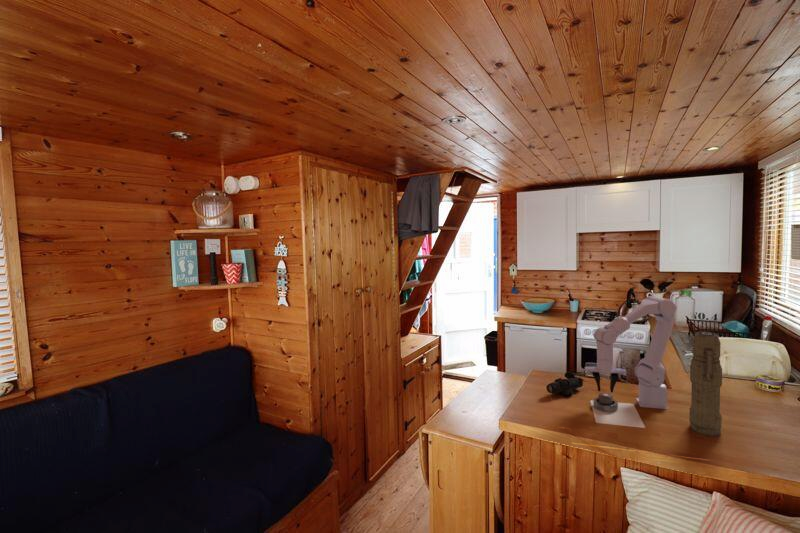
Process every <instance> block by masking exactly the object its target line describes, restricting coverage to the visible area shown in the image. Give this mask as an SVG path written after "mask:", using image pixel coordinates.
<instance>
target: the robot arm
mask: <svg viewBox="0 0 800 533" xmlns="http://www.w3.org/2000/svg"><path fill="white" fill-rule="evenodd" d="M677 308H678V307H677V305H676V304H675V302H674V301H673V300H672V299H669V298H662V297H659V296H655V295H649V296H648V295H647V297H645V298H644V299H642V300H641V303H640V304H638V306H636V307H635V308H633V309H632V310H630V312H628V313H627V314H625V316H616V317H614V319H613V320H612V321H611V322H608V323H607V324H605V325H604V327H602V326H600V327H598V328H596V330H595V331H594V333H593V334H592V335H593V338H594V340H595V341H596V342H595V343H596V366H584V373H585V374H589V373H591V374H592V376H593V378H594V380H595V382H596V385H597V386H596V387H597V391H598V392H601V376H600V374H605V375H606V374H607V375H609V378H610V383H609V385H610V386H609V391H610V393H613V392H614V388H615V385H616V384H617V382H618V380H619V377H620V375H622V376H627V370H626V369H625V368H619V367H614V344H615V343H616V341H617V339H618V338H619V336H621V335H622V334H623V333H625V332H626V331H628V330H630V328H631V324H633V323H635V322H636V321H638V320H640V319H642V318H643V317H645V316H646V315H652V316H653V317H654V318H655V319H656V324H655V327H654V331H653V334H652V337H651V340H650V344H649V346H648V349H647V353H646V354H645V357H643V358H641V359H640V360H639V363H638V364H637V365H636V366H635V368H634V375H635V377H637V381H638V397H636V398H635V399H636V401H637V403H638V405H639V407H640V408H648V409H649V408H651V409H661V410H668V409H669V408H668V388H667V385H666V384H664V381H665V372H666V369H665V366H664V365H663V363H662V361H663V358H664V356H665V352H666V350H667V346H668V342H669V340H670V336H671V334H672V331H673V328H674V324H675V321H676V319H675V318H676V310H677Z"/></svg>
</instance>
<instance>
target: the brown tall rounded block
mask: <svg viewBox="0 0 800 533" xmlns="http://www.w3.org/2000/svg"><path fill="white" fill-rule="evenodd" d="M720 358H721V340H720V338H719V335H718V334H716V333H714V332H711V331H705V330H703V331H697V332H695V334H694V336H693V339H692V359H691V360H692V361H691V363H690V365H689V381H690V382H691V406H690V407H689V413H688V414H689V417H688V418H689V427H690V429H691V430H692V431H693V432H694V433H696V434H698V435H701V436H704V437H710V438H711V437H713V438H715V437H720V436H721V435H722V430H721V428H722V425H723V424H722V423H723V422H722V418H723V417H722V414H721V409H720V408H721V387H722V385H723V367H722V365H721V360H720Z"/></svg>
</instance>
